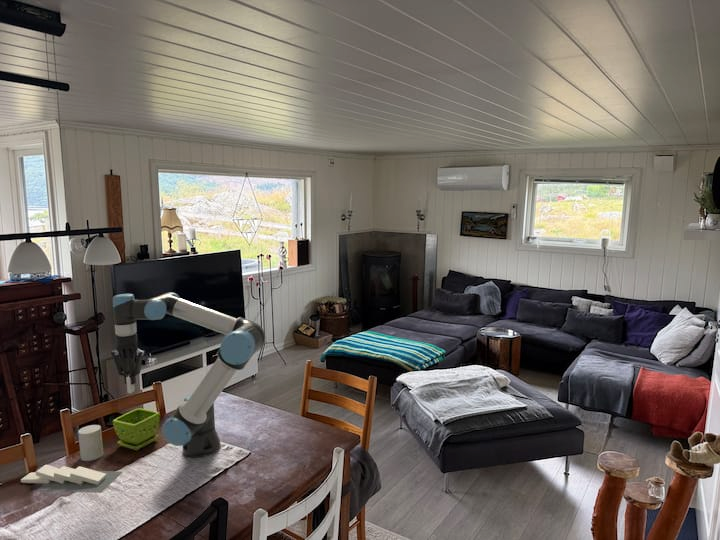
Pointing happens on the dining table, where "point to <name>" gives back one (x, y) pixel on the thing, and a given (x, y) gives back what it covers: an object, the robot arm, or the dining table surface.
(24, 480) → the domino
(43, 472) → the domino
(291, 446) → the dining table surface
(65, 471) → the domino
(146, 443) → the flower pot
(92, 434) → the white upright cylinder
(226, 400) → the dining table surface
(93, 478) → the domino
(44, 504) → the dining table surface
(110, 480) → the mat
